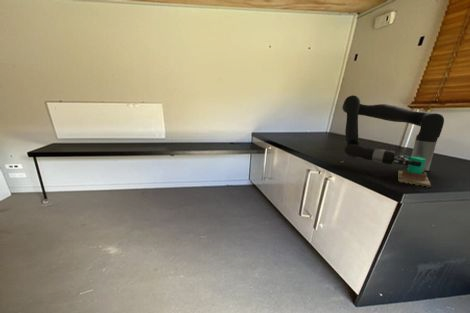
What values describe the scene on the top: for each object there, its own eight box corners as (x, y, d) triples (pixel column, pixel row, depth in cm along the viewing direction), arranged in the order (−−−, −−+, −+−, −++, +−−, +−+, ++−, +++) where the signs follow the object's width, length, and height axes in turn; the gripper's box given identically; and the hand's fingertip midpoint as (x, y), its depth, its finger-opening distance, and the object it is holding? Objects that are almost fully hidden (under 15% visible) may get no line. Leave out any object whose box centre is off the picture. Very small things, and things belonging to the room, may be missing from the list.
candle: (404, 177, 106) (410, 154, 103) (406, 174, 110) (411, 152, 107) (420, 180, 102) (426, 157, 99) (421, 177, 106) (427, 154, 103)
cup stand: (398, 172, 117) (399, 165, 116) (426, 177, 110) (428, 169, 109) (398, 181, 103) (400, 173, 102) (430, 187, 96) (432, 179, 95)
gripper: (381, 151, 109) (422, 158, 97) (388, 148, 118) (425, 153, 106) (378, 165, 111) (418, 173, 99) (385, 160, 120) (422, 167, 108)
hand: (422, 162), depth 103 cm, fingers open, 8 cm apart
